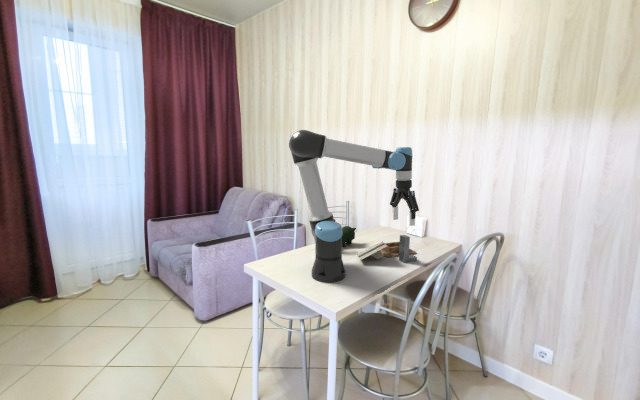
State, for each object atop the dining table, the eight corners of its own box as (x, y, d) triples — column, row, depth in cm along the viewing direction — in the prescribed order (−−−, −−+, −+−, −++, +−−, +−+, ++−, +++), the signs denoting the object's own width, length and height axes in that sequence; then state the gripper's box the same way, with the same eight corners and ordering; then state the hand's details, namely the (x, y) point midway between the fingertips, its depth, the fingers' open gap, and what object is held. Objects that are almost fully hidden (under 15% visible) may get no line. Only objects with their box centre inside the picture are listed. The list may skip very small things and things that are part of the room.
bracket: (403, 262, 148) (404, 237, 146) (398, 260, 152) (399, 235, 149) (416, 260, 150) (418, 236, 148) (412, 258, 154) (413, 233, 152)
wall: (371, 274, 144) (395, 253, 144) (359, 260, 144) (383, 240, 144) (367, 266, 161) (388, 248, 160) (356, 254, 161) (377, 236, 160)
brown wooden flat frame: (387, 257, 155) (387, 250, 154) (374, 249, 168) (374, 242, 167) (416, 253, 161) (416, 246, 160) (401, 246, 174) (401, 239, 173)
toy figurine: (331, 255, 163) (362, 242, 179) (329, 222, 159) (361, 212, 175) (320, 251, 170) (350, 239, 186) (318, 219, 166) (349, 209, 182)
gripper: (427, 181, 134) (426, 227, 137) (395, 177, 157) (395, 216, 160) (413, 182, 131) (412, 229, 135) (383, 178, 154) (383, 218, 158)
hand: (403, 222), depth 147 cm, fingers open, 13 cm apart
